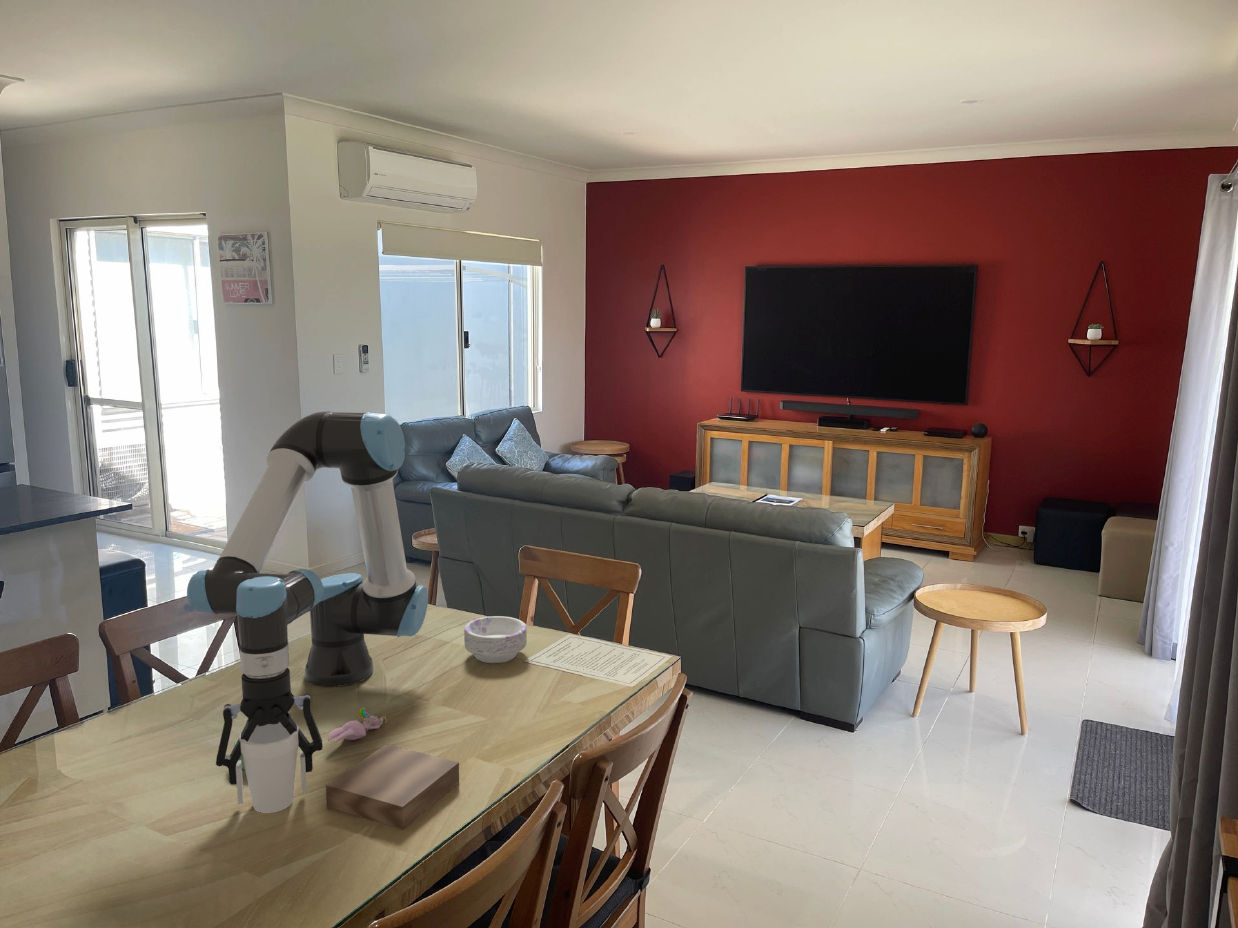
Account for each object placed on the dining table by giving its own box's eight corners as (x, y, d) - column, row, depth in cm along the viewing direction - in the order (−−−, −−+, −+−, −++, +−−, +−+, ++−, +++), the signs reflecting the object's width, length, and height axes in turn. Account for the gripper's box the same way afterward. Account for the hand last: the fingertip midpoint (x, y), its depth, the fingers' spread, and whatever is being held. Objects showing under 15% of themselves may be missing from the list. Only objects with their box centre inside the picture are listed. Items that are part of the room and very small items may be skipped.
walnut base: (326, 806, 150) (325, 784, 149) (387, 763, 164) (386, 743, 164) (403, 829, 144) (402, 806, 143) (459, 782, 158) (458, 762, 157)
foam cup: (282, 821, 145) (277, 748, 143) (232, 814, 147) (227, 742, 145) (312, 791, 155) (309, 722, 152) (265, 785, 156) (261, 717, 154)
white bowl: (523, 668, 209) (522, 637, 208) (459, 668, 210) (458, 636, 208) (530, 645, 224) (530, 615, 223) (470, 644, 225) (470, 614, 223)
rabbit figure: (367, 726, 183) (317, 746, 169) (369, 697, 183) (319, 715, 169) (392, 731, 180) (343, 752, 166) (394, 703, 180) (346, 721, 166)
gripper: (190, 688, 140) (200, 818, 143) (336, 670, 147) (341, 793, 151) (194, 670, 147) (203, 794, 150) (333, 654, 154) (339, 772, 158)
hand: (272, 794), depth 151 cm, fingers closed on foam cup, 9 cm apart
